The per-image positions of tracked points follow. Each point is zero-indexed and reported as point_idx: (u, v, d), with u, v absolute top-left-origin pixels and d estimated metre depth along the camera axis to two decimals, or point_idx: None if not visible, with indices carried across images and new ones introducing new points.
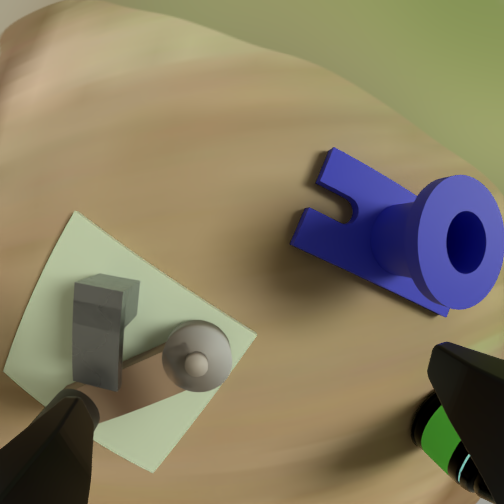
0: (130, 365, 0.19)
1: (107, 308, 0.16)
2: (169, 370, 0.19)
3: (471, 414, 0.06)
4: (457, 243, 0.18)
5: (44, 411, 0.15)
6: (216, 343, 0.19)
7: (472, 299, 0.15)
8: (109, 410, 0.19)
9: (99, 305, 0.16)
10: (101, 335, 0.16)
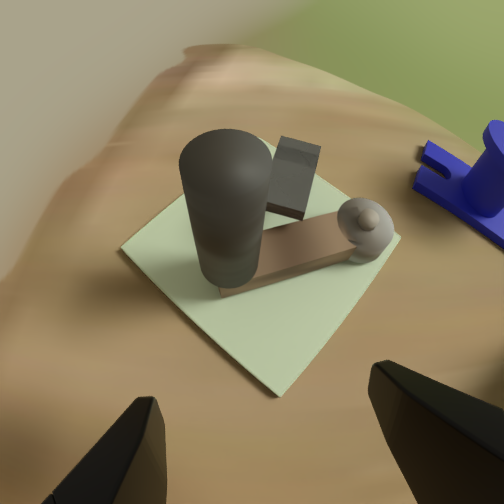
0: None
1: (307, 153, 0.22)
2: (343, 226, 0.22)
3: (407, 443, 0.05)
4: None
5: None
6: (381, 212, 0.23)
7: None
8: (272, 261, 0.20)
9: (301, 150, 0.22)
10: (299, 168, 0.21)
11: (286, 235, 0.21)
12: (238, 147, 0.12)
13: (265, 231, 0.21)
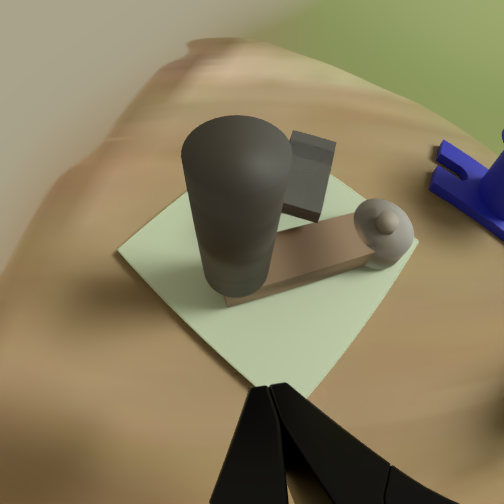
0: None
1: (321, 149, 0.20)
2: (360, 229, 0.20)
3: (292, 476, 0.05)
4: None
5: None
6: (400, 214, 0.20)
7: None
8: (284, 268, 0.18)
9: (314, 146, 0.20)
10: (313, 165, 0.19)
11: (299, 238, 0.19)
12: (251, 136, 0.10)
13: (276, 234, 0.19)
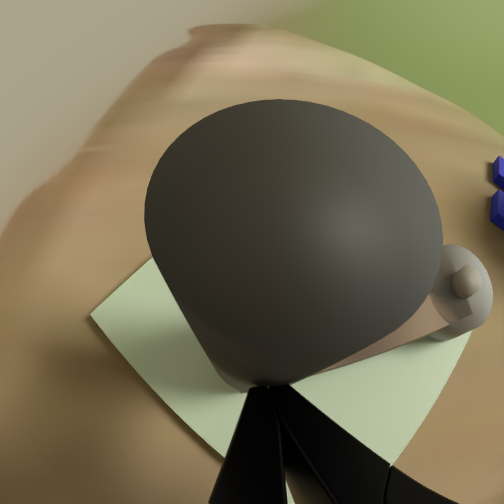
0: None
1: None
2: (433, 290, 0.13)
3: (292, 476, 0.05)
4: None
5: None
6: (478, 267, 0.13)
7: None
8: None
9: None
10: None
11: None
12: (339, 156, 0.04)
13: None
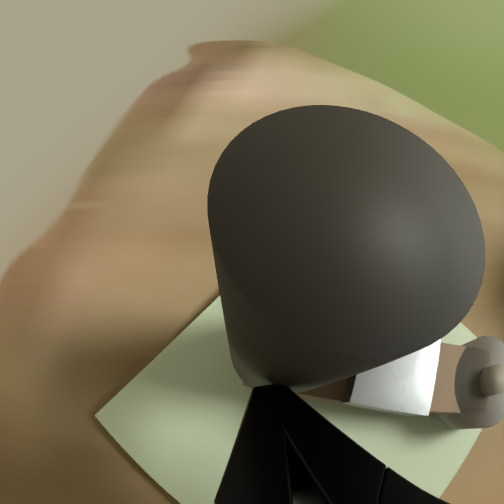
0: None
1: None
2: (461, 374, 0.11)
3: None
4: None
5: None
6: None
7: None
8: (340, 383, 0.11)
9: None
10: None
11: None
12: (411, 184, 0.04)
13: None
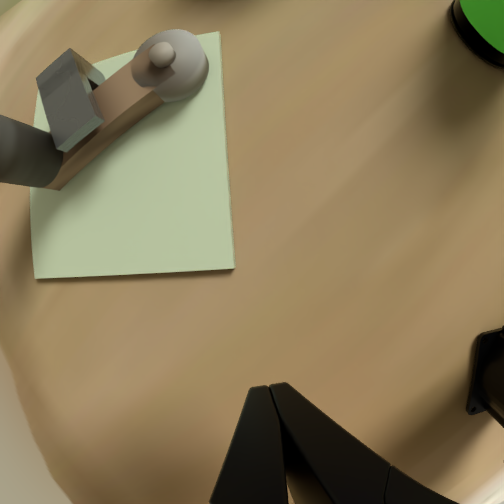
0: (101, 85, 0.17)
1: (63, 66, 0.15)
2: (137, 74, 0.16)
3: (292, 476, 0.05)
4: None
5: None
6: (184, 37, 0.16)
7: None
8: None
9: (57, 70, 0.15)
10: (65, 86, 0.15)
11: None
12: None
13: None
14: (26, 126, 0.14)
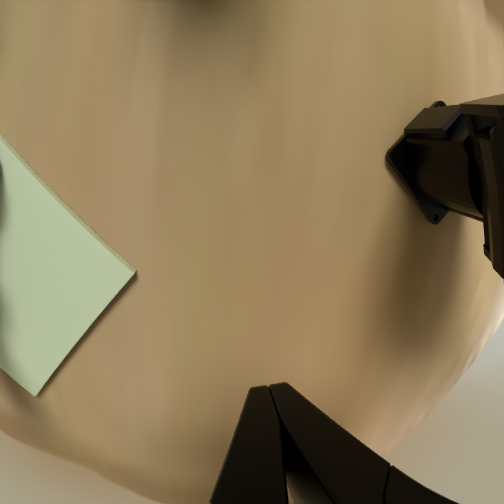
0: None
1: None
2: None
3: (292, 476, 0.05)
4: None
5: None
6: None
7: None
8: None
9: None
10: None
11: None
12: None
13: None
14: None
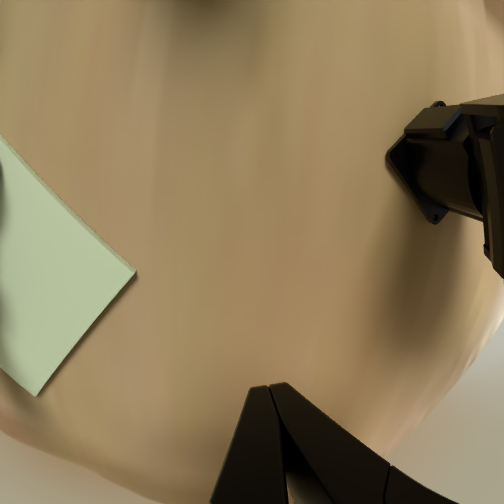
0: None
1: None
2: None
3: (292, 476, 0.05)
4: None
5: None
6: None
7: None
8: None
9: None
10: None
11: None
12: None
13: None
14: None
